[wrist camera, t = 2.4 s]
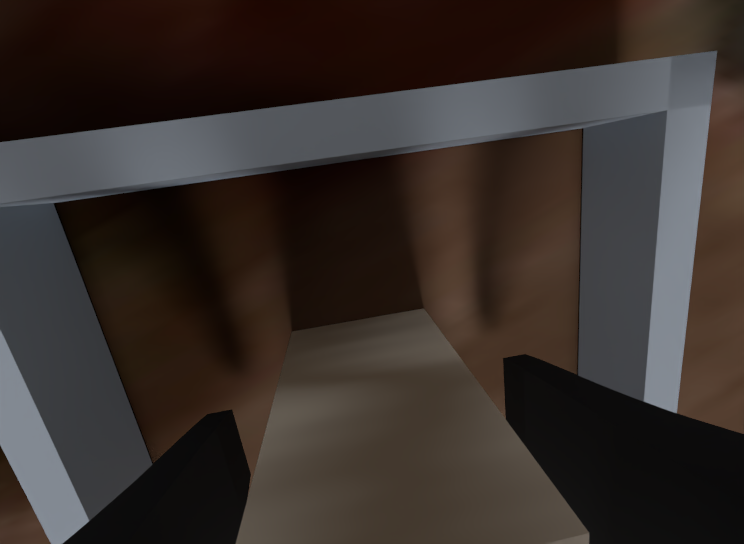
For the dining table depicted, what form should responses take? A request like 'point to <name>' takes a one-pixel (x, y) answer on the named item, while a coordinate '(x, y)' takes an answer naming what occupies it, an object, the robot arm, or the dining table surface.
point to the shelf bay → (327, 146)
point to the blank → (394, 448)
